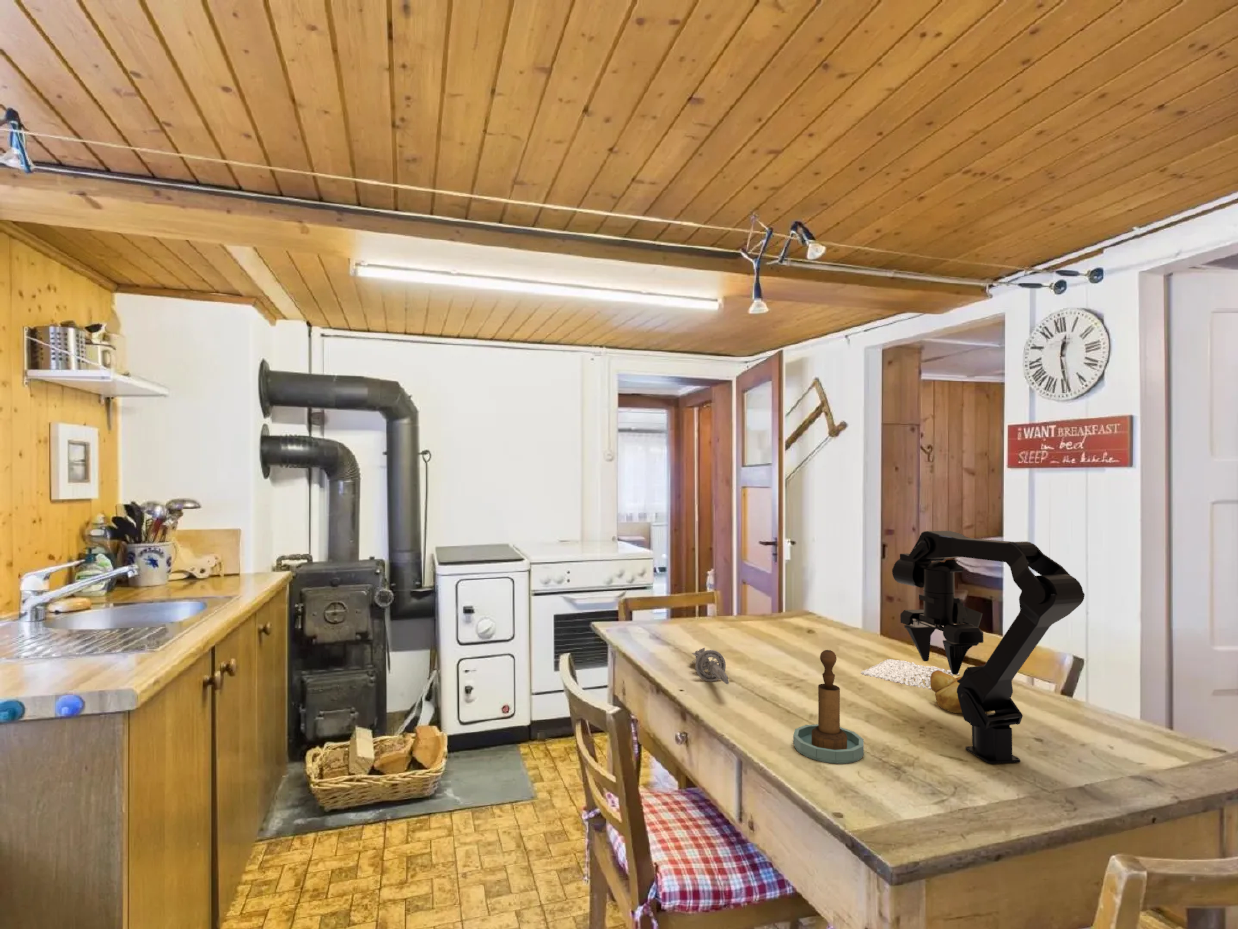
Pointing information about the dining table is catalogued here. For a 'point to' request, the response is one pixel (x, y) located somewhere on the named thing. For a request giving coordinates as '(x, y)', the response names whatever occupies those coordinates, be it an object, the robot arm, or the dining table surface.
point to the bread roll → (945, 691)
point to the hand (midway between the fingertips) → (939, 667)
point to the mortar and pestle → (829, 709)
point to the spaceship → (710, 665)
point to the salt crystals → (903, 672)
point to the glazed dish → (849, 755)
